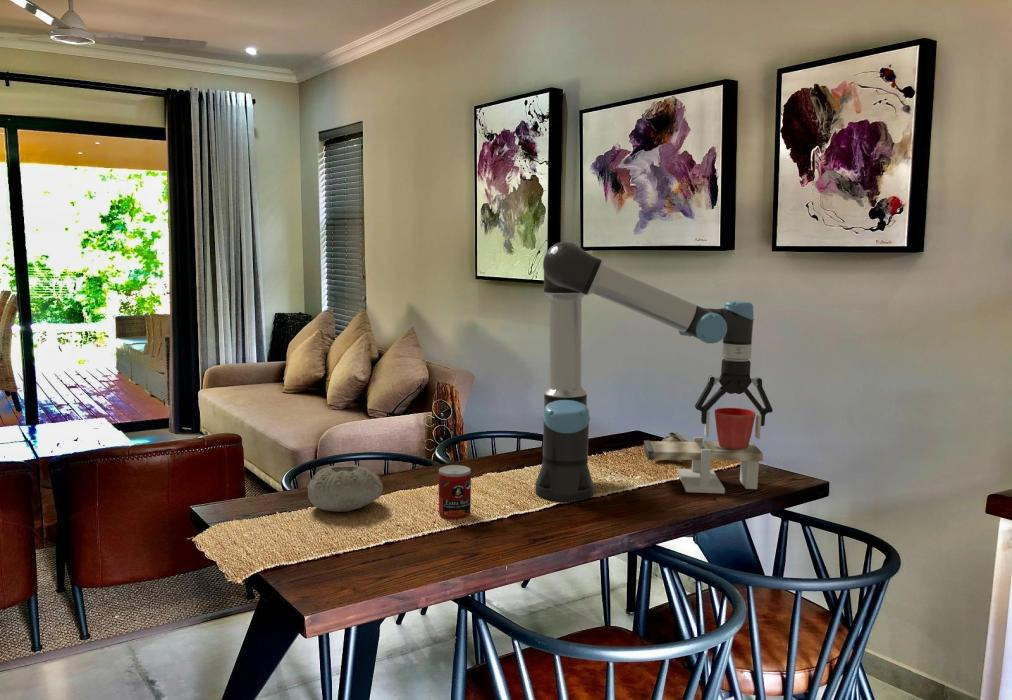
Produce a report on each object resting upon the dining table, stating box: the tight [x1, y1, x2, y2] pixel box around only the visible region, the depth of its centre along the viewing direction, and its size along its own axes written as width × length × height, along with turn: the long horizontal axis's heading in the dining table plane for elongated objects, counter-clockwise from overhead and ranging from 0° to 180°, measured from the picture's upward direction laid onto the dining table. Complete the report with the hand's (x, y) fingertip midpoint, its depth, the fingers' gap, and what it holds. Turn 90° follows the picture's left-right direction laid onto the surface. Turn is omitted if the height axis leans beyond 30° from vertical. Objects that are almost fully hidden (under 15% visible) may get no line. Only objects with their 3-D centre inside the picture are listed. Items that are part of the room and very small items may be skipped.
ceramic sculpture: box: [655, 431, 686, 463], centre depth 246 cm, size 11×9×15 cm
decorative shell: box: [306, 464, 384, 513], centre depth 197 cm, size 18×18×10 cm
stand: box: [676, 436, 760, 494], centre depth 222 cm, size 20×18×11 cm
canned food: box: [438, 464, 472, 520], centre depth 193 cm, size 8×8×11 cm
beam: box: [643, 440, 764, 462], centre depth 222 cm, size 30×12×3 cm, turn 85°
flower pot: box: [714, 407, 756, 449], centre depth 220 cm, size 11×11×10 cm
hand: (731, 436), depth 221 cm, fingers open, 13 cm apart
